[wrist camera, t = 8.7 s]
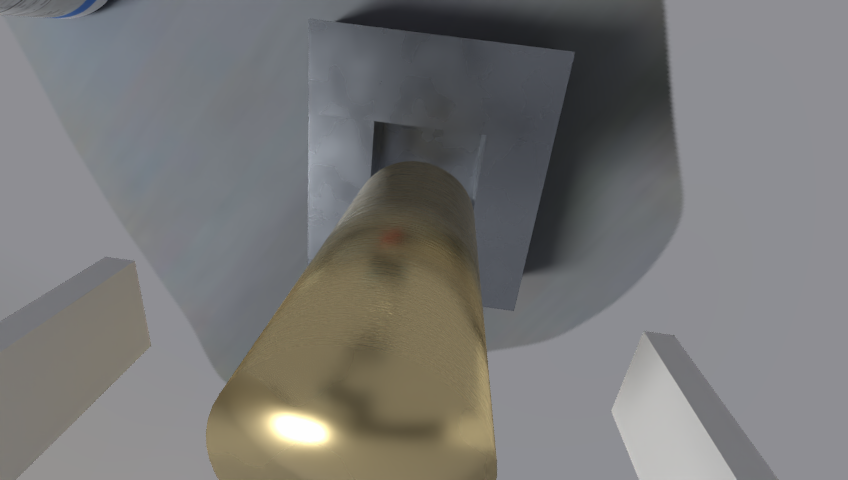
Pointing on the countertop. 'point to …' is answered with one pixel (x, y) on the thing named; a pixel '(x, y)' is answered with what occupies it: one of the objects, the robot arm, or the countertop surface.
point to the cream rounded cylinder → (371, 350)
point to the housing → (435, 129)
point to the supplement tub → (49, 8)
